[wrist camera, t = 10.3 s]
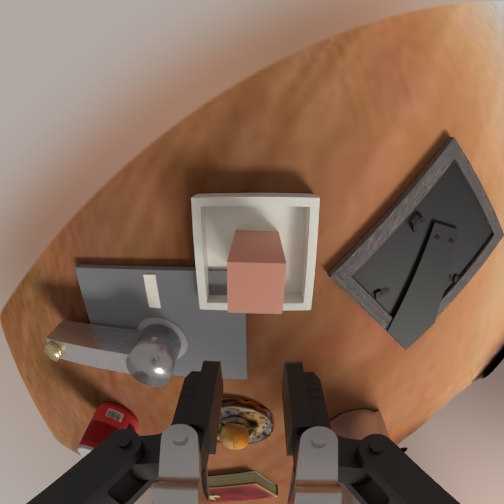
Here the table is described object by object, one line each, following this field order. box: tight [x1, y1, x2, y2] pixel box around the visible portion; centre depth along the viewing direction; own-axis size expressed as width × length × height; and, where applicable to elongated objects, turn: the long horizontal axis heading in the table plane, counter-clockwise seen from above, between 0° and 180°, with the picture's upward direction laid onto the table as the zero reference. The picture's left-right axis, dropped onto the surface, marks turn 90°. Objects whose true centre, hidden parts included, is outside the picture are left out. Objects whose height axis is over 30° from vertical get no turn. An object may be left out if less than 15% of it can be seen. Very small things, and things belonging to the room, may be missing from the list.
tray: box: [191, 193, 320, 311], centre depth 26 cm, size 11×11×3 cm
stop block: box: [227, 230, 286, 314], centre depth 23 cm, size 4×4×8 cm
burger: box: [217, 398, 274, 449], centre depth 34 cm, size 12×12×8 cm
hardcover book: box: [208, 471, 278, 503], centre depth 46 cm, size 12×21×4 cm, turn 117°
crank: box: [44, 320, 181, 386], centre depth 28 cm, size 17×5×6 cm, turn 90°
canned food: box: [78, 402, 138, 457], centre depth 33 cm, size 8×8×11 cm
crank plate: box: [75, 264, 247, 380], centre depth 30 cm, size 20×15×1 cm
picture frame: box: [328, 137, 504, 350], centre depth 27 cm, size 16×2×21 cm
